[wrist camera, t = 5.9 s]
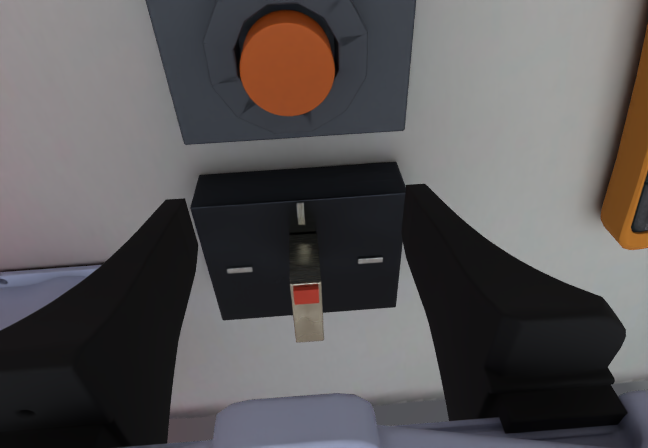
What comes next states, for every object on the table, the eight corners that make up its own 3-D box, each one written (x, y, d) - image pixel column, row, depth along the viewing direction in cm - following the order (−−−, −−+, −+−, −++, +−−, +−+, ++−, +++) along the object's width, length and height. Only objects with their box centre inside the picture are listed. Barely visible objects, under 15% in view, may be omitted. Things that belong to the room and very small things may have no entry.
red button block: (319, 290, 27) (324, 344, 24) (294, 292, 27) (296, 346, 24) (317, 232, 24) (321, 286, 21) (288, 234, 24) (289, 288, 21)
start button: (249, 101, 19) (246, 119, 18) (236, 12, 17) (232, 25, 16) (332, 96, 19) (336, 114, 18) (330, 6, 17) (333, 19, 16)
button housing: (188, 133, 23) (177, 165, 20) (133, -76, 17) (110, -66, 15) (399, 120, 23) (412, 149, 21) (416, -91, 17) (437, -83, 15)
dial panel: (227, 285, 30) (222, 322, 28) (198, 174, 24) (189, 209, 22) (387, 273, 30) (396, 309, 28) (396, 161, 25) (408, 194, 22)
